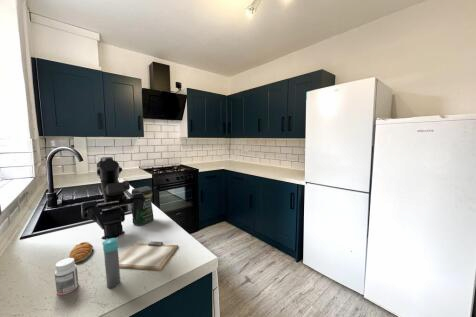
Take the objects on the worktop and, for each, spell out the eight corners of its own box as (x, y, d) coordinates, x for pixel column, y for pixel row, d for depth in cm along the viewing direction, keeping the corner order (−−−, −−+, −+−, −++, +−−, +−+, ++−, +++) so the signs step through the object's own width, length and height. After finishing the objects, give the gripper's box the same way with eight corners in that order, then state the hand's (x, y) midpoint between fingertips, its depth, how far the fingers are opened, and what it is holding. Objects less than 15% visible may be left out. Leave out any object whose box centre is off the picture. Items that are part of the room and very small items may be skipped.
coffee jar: (140, 227, 95) (137, 190, 93) (130, 224, 99) (127, 188, 97) (156, 219, 103) (154, 186, 101) (146, 217, 107) (144, 184, 105)
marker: (103, 288, 56) (99, 244, 55) (112, 279, 59) (109, 237, 58) (114, 289, 56) (111, 244, 54) (123, 280, 59) (120, 238, 58)
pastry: (90, 260, 69) (89, 250, 69) (66, 267, 66) (65, 256, 65) (93, 248, 77) (92, 239, 77) (71, 253, 74) (70, 244, 73)
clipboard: (110, 267, 65) (109, 262, 65) (136, 244, 79) (136, 240, 79) (160, 270, 63) (160, 265, 63) (178, 246, 77) (178, 242, 77)
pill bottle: (65, 283, 58) (62, 257, 57) (82, 282, 58) (79, 256, 58) (52, 296, 53) (48, 267, 52) (70, 294, 54) (67, 266, 53)
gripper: (79, 177, 62) (84, 218, 54) (141, 171, 75) (153, 203, 66) (79, 199, 68) (84, 238, 60) (137, 190, 81) (147, 221, 72)
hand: (120, 224), depth 65 cm, fingers open, 9 cm apart
